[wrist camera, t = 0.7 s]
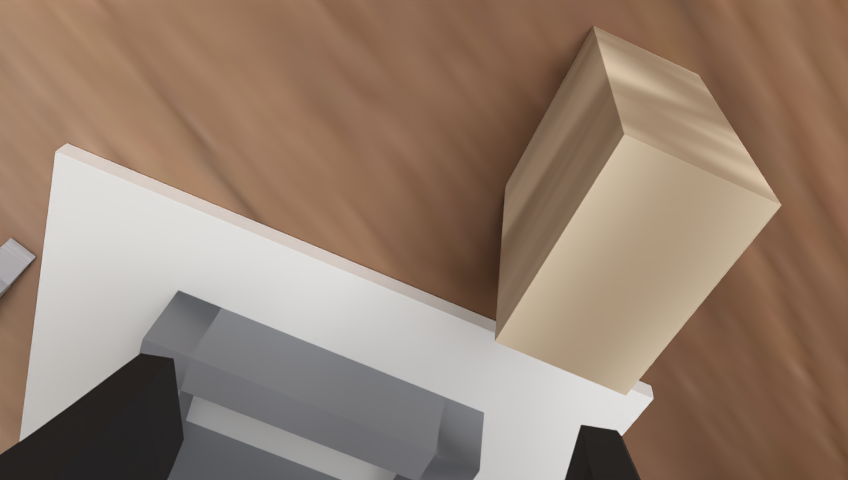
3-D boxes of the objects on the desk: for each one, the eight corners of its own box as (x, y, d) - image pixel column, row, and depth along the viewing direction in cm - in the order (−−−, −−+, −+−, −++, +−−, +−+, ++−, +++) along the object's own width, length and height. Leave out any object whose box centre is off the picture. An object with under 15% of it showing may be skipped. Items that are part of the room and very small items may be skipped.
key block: (698, 74, 18) (781, 205, 12) (598, 226, 20) (626, 395, 15) (592, 25, 18) (624, 134, 12) (505, 186, 20) (494, 341, 14)
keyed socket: (651, 385, 23) (666, 458, 21) (475, 596, 31) (469, 670, 28) (66, 143, 21) (1, 189, 19) (28, 430, 29) (-23, 492, 26)
